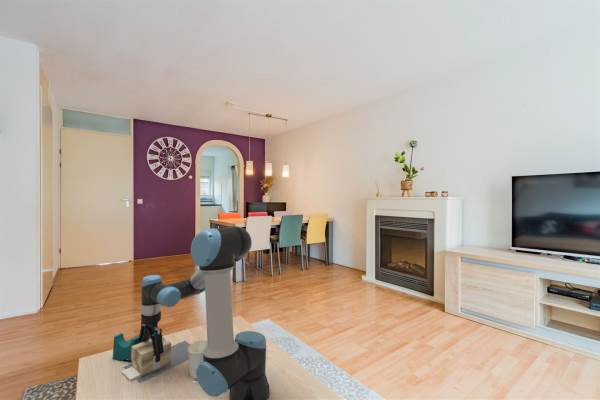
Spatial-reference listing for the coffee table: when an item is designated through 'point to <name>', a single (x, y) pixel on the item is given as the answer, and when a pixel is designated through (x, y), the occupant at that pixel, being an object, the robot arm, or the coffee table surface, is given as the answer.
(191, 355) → the candle holder
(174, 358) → the board
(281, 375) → the coffee table surface
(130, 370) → the white square tile
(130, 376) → the cream flat square
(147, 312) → the robot arm
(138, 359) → the block
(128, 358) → the teal l-shaped bracket
